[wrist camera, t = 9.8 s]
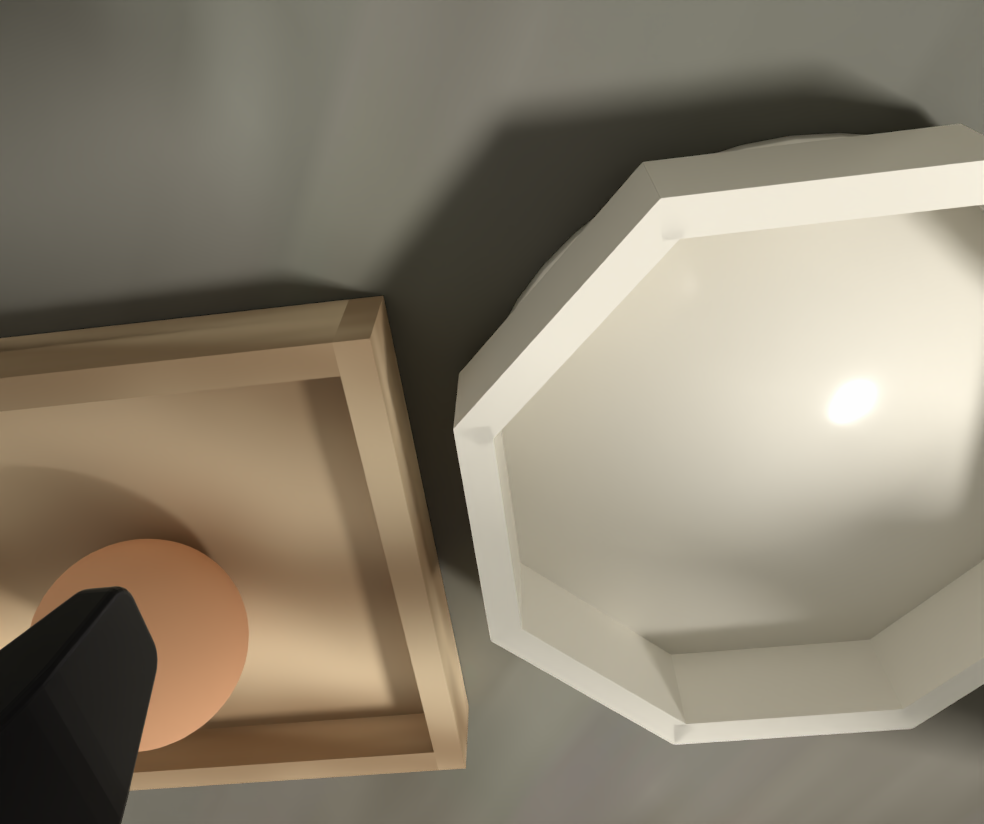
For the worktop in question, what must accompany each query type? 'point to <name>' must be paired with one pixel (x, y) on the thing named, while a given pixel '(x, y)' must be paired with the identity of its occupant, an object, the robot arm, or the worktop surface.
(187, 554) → the ball
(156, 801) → the worktop surface
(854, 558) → the bowl
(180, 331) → the tray
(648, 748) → the worktop surface
